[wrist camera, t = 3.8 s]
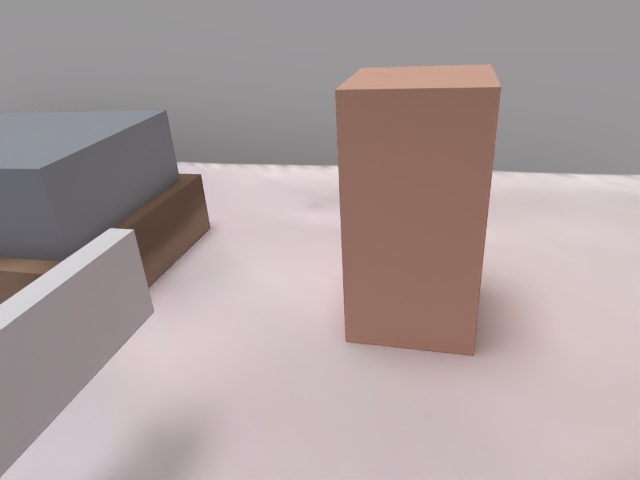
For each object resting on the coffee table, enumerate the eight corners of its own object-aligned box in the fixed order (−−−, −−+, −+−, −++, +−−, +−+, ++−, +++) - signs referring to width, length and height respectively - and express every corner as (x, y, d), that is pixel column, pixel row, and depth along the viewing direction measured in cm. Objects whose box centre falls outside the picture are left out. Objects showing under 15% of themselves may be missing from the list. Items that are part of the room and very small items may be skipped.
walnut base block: (211, 234, 31) (200, 174, 29) (89, 356, 21) (62, 276, 19) (53, 224, 34) (35, 170, 32) (-122, 328, 24) (-163, 256, 22)
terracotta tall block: (470, 287, 23) (491, 64, 19) (473, 356, 19) (501, 87, 14) (365, 279, 24) (361, 67, 20) (345, 341, 20) (335, 89, 16)
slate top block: (179, 178, 29) (166, 110, 27) (69, 261, 20) (38, 169, 18) (34, 175, 31) (13, 112, 29) (-122, 250, 22) (-167, 165, 20)
